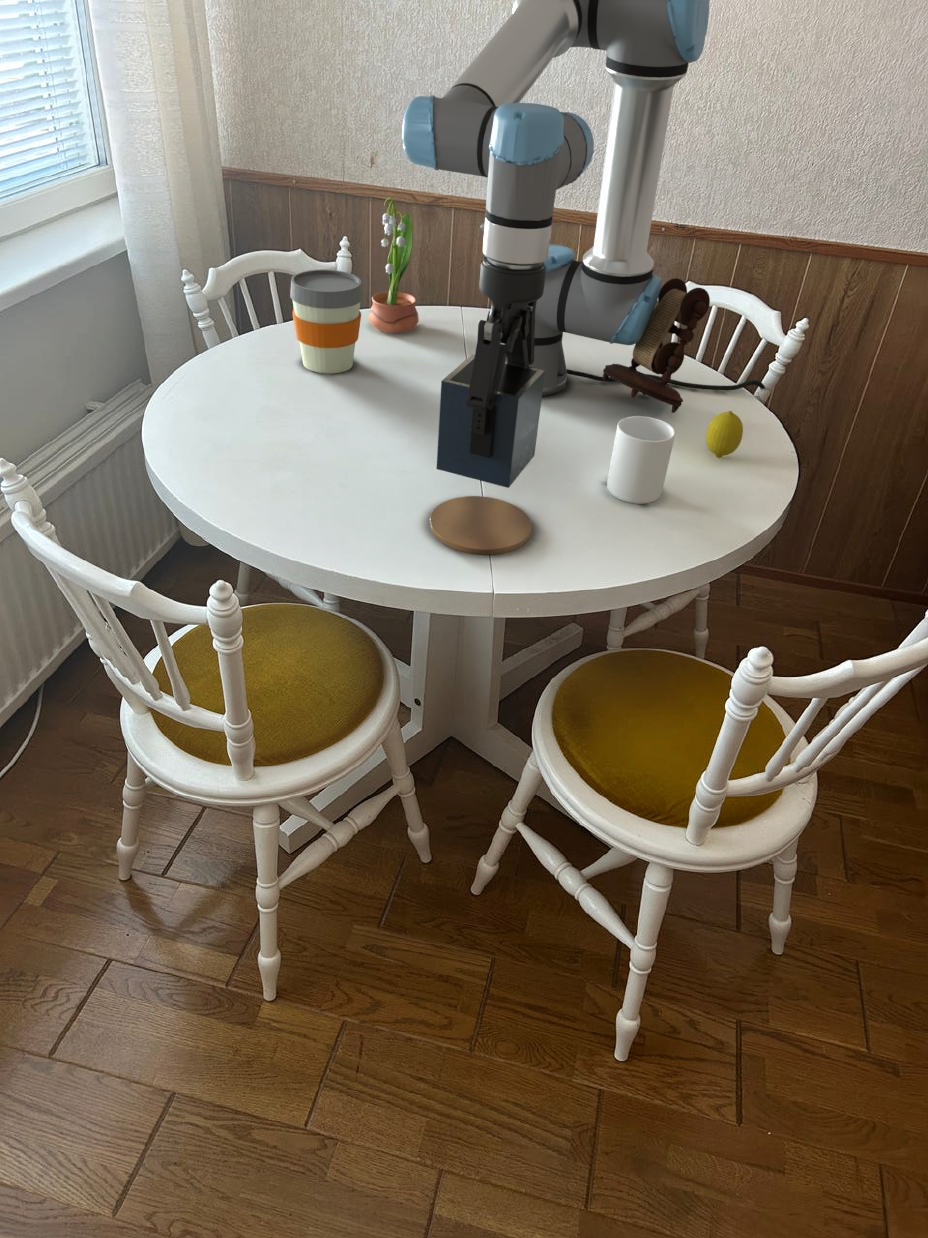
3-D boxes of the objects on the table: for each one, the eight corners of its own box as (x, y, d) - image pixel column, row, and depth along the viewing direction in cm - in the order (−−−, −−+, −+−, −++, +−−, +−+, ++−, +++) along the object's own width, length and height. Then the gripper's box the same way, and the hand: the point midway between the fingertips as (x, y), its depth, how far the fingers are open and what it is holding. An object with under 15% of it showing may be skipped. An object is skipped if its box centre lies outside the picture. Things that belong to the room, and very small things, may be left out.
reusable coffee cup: (278, 364, 166) (274, 280, 157) (322, 345, 175) (320, 264, 166) (333, 383, 161) (332, 297, 152) (376, 362, 170) (377, 280, 161)
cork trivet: (510, 496, 134) (511, 491, 134) (545, 548, 124) (546, 543, 123) (418, 505, 130) (418, 500, 130) (446, 559, 120) (446, 554, 119)
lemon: (737, 453, 151) (749, 408, 146) (733, 468, 147) (746, 421, 142) (703, 446, 152) (714, 401, 147) (698, 460, 148) (710, 414, 143)
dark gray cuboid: (441, 380, 111) (518, 398, 109) (472, 353, 119) (545, 369, 116) (436, 469, 119) (508, 488, 116) (465, 438, 126) (534, 455, 123)
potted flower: (409, 342, 179) (413, 205, 164) (359, 335, 181) (359, 198, 165) (423, 322, 189) (429, 191, 174) (376, 315, 190) (377, 184, 175)
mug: (588, 468, 143) (598, 406, 137) (637, 464, 145) (649, 403, 139) (619, 507, 134) (631, 443, 128) (670, 503, 136) (685, 439, 130)
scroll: (584, 371, 162) (635, 258, 155) (646, 394, 170) (697, 288, 163) (628, 399, 151) (685, 278, 144) (692, 422, 159) (749, 309, 151)
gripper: (517, 231, 115) (500, 399, 128) (444, 278, 98) (433, 466, 111) (574, 242, 113) (551, 411, 126) (510, 292, 96) (491, 482, 109)
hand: (496, 437), depth 118 cm, fingers closed on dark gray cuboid, 10 cm apart
